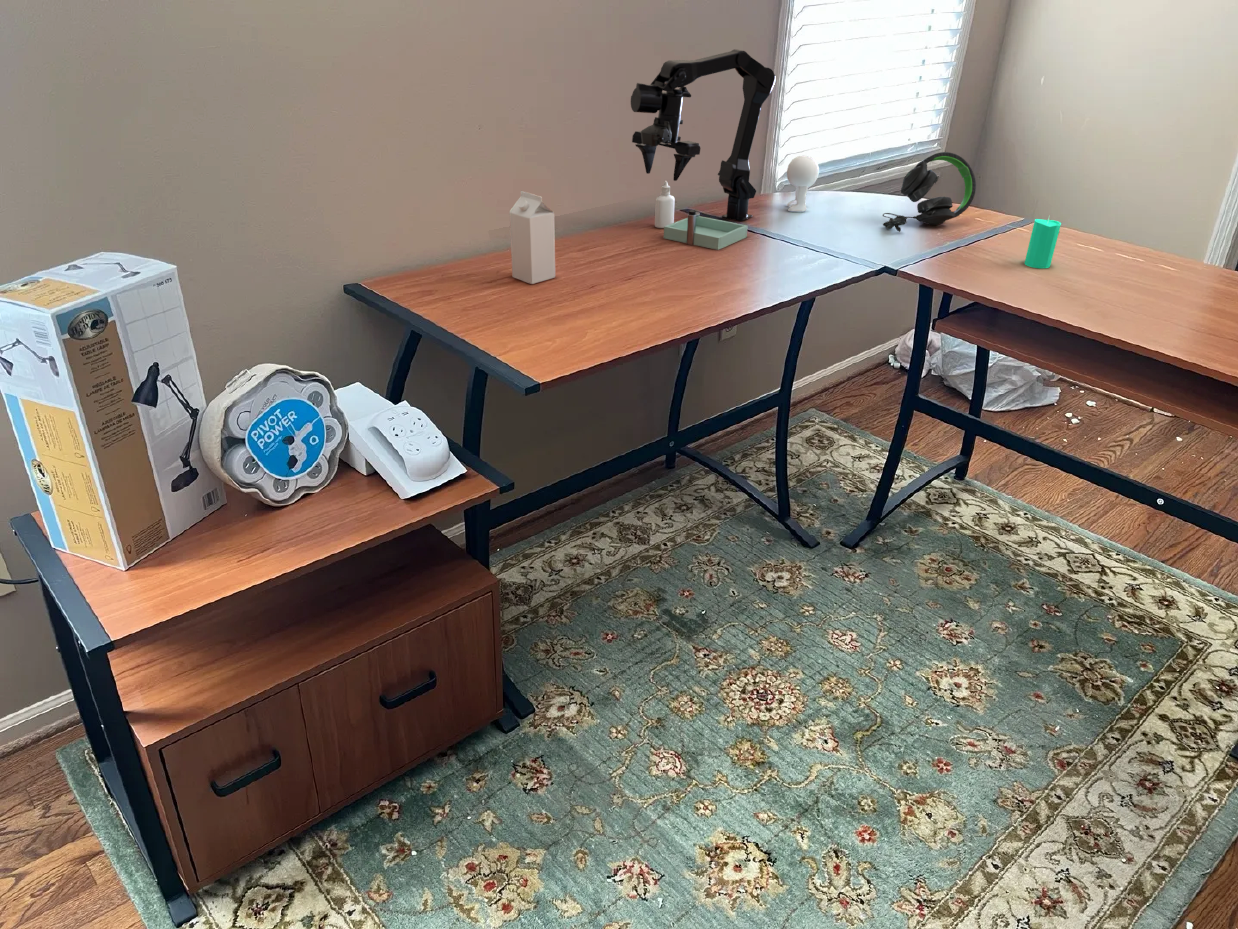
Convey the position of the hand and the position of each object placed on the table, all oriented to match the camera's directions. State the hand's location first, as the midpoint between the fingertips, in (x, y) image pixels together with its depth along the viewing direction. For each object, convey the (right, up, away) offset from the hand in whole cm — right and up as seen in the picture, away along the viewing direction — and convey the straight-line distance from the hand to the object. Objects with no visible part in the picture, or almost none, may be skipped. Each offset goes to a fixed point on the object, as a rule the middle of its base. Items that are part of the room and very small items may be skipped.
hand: (661, 176), depth 240 cm
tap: (+7, -19, -7) cm, 22 cm away
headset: (+74, -10, +11) cm, 75 cm away
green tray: (+11, -17, -2) cm, 20 cm away
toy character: (+41, -2, +25) cm, 48 cm away
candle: (+91, -27, -19) cm, 97 cm away
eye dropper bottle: (+1, -11, +7) cm, 13 cm away
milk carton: (-31, -33, -32) cm, 55 cm away
